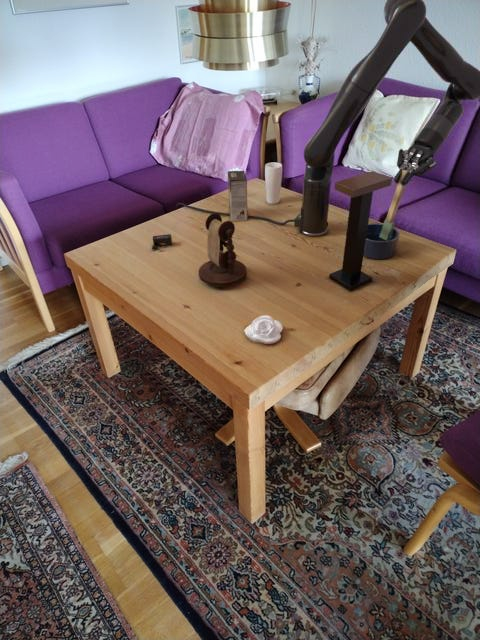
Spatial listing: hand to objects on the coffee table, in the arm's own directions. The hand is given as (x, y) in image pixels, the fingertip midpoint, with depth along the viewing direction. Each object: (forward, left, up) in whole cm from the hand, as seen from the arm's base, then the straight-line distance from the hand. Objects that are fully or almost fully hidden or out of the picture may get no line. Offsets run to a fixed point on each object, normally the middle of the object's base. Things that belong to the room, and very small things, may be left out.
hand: (399, 183), depth 145 cm
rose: (-29, -55, -23) cm, 66 cm away
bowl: (-4, -3, -22) cm, 23 cm away
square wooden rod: (0, +1, -8) cm, 8 cm away
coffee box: (-56, +13, -23) cm, 62 cm away
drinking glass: (-46, +29, -23) cm, 59 cm away
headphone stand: (-10, -23, -22) cm, 34 cm away
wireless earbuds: (-75, -17, -23) cm, 80 cm away
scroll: (-48, -31, -23) cm, 61 cm away
